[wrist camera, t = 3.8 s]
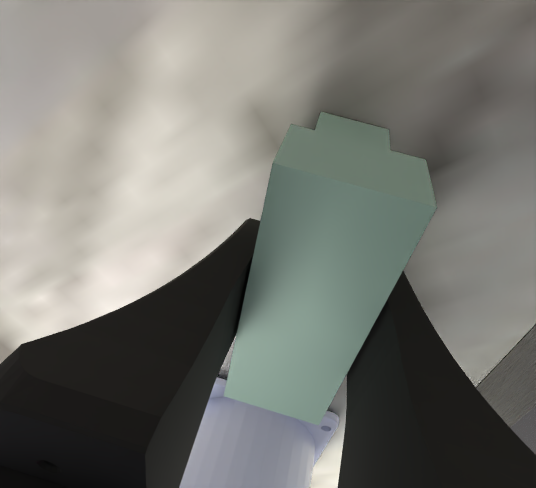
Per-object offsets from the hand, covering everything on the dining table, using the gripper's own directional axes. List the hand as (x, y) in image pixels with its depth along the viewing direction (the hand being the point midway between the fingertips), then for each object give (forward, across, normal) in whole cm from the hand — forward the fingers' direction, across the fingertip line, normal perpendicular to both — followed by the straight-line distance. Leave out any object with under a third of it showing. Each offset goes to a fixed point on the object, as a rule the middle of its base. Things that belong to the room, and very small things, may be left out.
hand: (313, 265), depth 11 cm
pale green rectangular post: (+3, 0, 0) cm, 3 cm away
